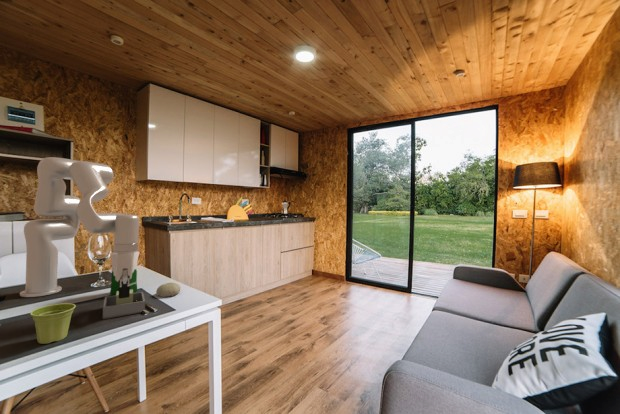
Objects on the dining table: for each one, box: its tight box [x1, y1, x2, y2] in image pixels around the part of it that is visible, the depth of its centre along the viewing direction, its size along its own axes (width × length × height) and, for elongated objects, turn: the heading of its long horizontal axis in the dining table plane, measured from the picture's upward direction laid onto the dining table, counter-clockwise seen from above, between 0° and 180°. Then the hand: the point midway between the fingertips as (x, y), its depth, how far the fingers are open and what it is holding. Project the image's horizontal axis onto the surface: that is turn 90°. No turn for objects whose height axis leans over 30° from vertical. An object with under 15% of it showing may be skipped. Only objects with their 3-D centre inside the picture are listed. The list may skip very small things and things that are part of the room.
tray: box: [102, 291, 146, 320], centre depth 99 cm, size 12×12×4 cm
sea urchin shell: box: [156, 282, 181, 298], centre depth 117 cm, size 9×8×8 cm
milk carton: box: [109, 251, 140, 296], centre depth 117 cm, size 9×9×20 cm
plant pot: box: [30, 302, 77, 345], centre depth 77 cm, size 9×9×9 cm
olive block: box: [115, 289, 133, 305], centre depth 99 cm, size 5×5×6 cm
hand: (123, 293), depth 99 cm, fingers open, 9 cm apart
